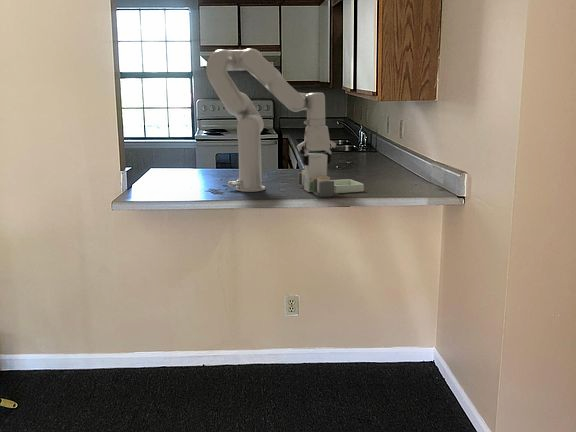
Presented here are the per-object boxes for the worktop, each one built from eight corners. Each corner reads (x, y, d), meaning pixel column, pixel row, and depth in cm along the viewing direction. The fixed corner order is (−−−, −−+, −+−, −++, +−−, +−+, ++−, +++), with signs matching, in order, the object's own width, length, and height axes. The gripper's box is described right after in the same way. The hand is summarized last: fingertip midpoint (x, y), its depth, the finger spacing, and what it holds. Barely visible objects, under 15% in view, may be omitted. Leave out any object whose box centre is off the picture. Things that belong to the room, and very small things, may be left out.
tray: (336, 193, 254) (336, 186, 254) (323, 187, 267) (323, 180, 266) (363, 191, 258) (363, 184, 258) (349, 185, 271) (350, 179, 270)
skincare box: (308, 192, 255) (308, 155, 252) (303, 189, 261) (304, 153, 258) (327, 191, 257) (328, 154, 254) (322, 189, 264) (323, 152, 260)
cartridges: (320, 195, 249) (320, 177, 247) (301, 186, 269) (301, 170, 267) (329, 195, 250) (330, 177, 248) (310, 186, 270) (310, 169, 269)
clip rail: (319, 196, 247) (319, 180, 245) (297, 186, 270) (297, 171, 269) (334, 195, 249) (335, 180, 247) (311, 185, 272) (311, 170, 271)
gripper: (299, 124, 247) (300, 167, 251) (339, 122, 252) (339, 163, 256) (293, 123, 254) (294, 164, 258) (331, 121, 259) (332, 161, 263)
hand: (317, 164), depth 257 cm, fingers open, 9 cm apart
